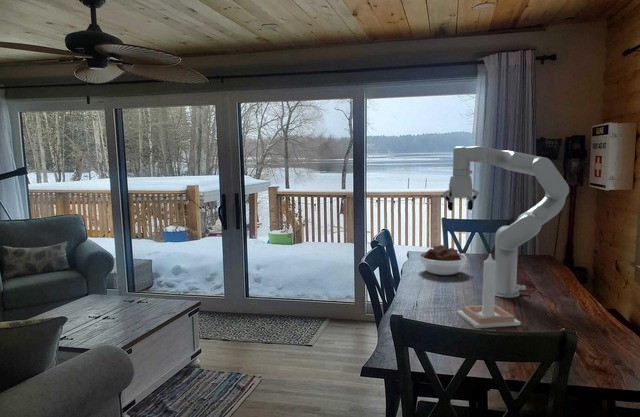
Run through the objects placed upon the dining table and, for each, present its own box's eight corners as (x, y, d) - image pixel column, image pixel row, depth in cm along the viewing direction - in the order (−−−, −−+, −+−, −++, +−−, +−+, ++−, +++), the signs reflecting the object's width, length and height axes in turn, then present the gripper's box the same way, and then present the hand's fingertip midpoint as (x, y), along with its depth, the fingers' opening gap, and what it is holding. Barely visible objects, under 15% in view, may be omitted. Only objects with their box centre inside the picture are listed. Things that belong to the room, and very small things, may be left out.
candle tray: (497, 310, 186) (498, 303, 185) (520, 325, 170) (520, 317, 170) (456, 313, 183) (456, 305, 183) (475, 328, 168) (476, 319, 167)
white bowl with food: (476, 276, 239) (477, 248, 237) (436, 281, 229) (437, 252, 228) (446, 265, 262) (447, 240, 260) (409, 270, 253) (410, 243, 251)
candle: (493, 312, 180) (495, 251, 177) (500, 318, 173) (503, 255, 170) (475, 312, 180) (477, 251, 177) (482, 319, 173) (484, 255, 170)
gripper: (474, 172, 214) (473, 208, 216) (440, 173, 211) (439, 209, 213) (482, 173, 206) (481, 210, 208) (446, 173, 204) (446, 211, 206)
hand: (460, 210), depth 211 cm, fingers open, 9 cm apart
